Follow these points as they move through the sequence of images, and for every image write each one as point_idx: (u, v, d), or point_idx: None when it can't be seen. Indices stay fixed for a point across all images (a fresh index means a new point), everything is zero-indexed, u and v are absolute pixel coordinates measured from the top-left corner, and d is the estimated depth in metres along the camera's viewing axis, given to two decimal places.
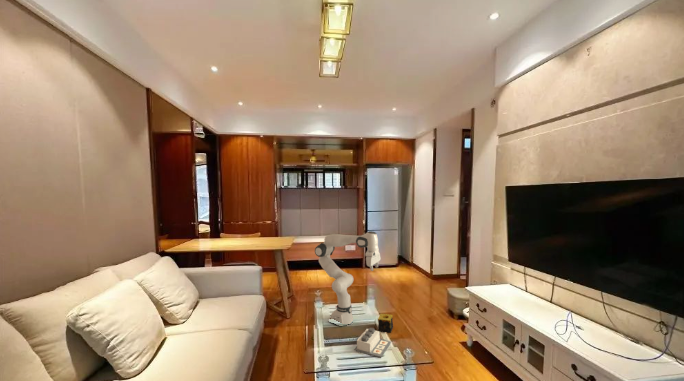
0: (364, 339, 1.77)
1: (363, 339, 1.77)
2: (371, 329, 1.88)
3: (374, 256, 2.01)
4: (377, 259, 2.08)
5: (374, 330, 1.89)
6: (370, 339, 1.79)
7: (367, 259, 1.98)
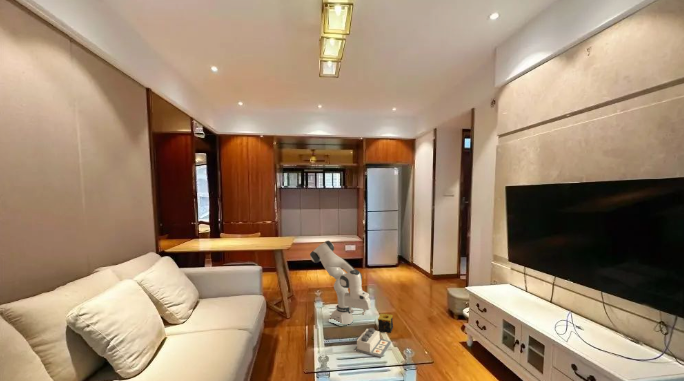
0: (364, 339, 1.77)
1: (363, 339, 1.77)
2: (371, 329, 1.88)
3: None
4: None
5: (374, 330, 1.89)
6: (370, 339, 1.79)
7: (368, 302, 1.76)
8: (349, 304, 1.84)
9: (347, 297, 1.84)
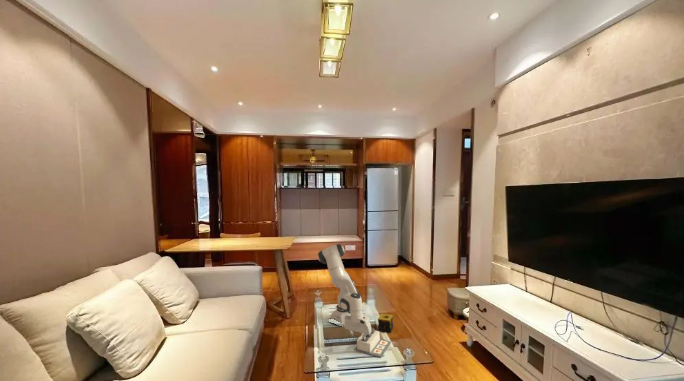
0: (364, 341, 1.77)
1: None
2: (371, 329, 1.88)
3: None
4: None
5: (374, 330, 1.89)
6: (370, 339, 1.79)
7: (368, 326, 1.75)
8: (349, 327, 1.82)
9: (347, 320, 1.83)
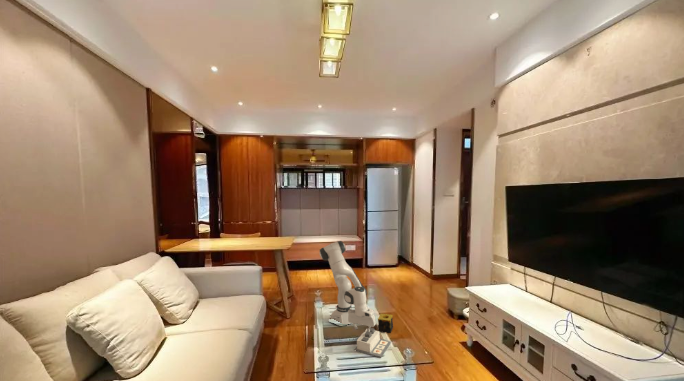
0: (364, 341, 1.77)
1: None
2: (371, 329, 1.88)
3: None
4: None
5: (374, 330, 1.89)
6: (370, 339, 1.79)
7: (373, 318, 1.77)
8: (353, 321, 1.83)
9: (351, 314, 1.84)
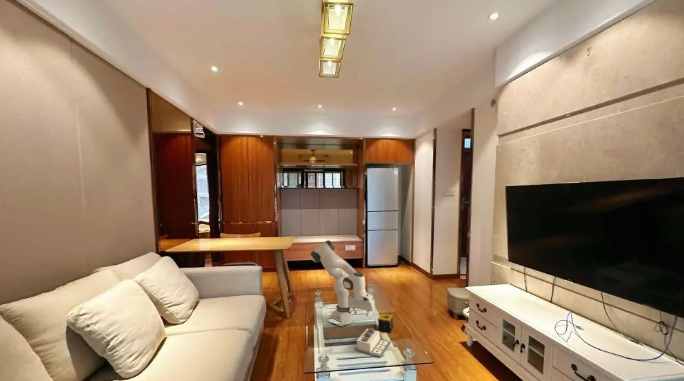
0: (364, 341, 1.77)
1: None
2: (371, 329, 1.88)
3: None
4: None
5: (374, 330, 1.89)
6: (370, 339, 1.79)
7: (371, 303, 1.81)
8: (353, 305, 1.88)
9: (351, 299, 1.88)
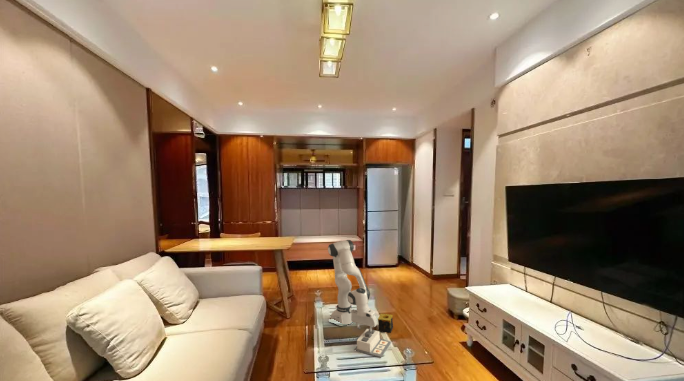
0: (364, 341, 1.77)
1: None
2: None
3: None
4: None
5: (374, 331, 1.89)
6: (370, 339, 1.79)
7: (374, 319, 1.84)
8: (356, 321, 1.92)
9: (354, 314, 1.92)
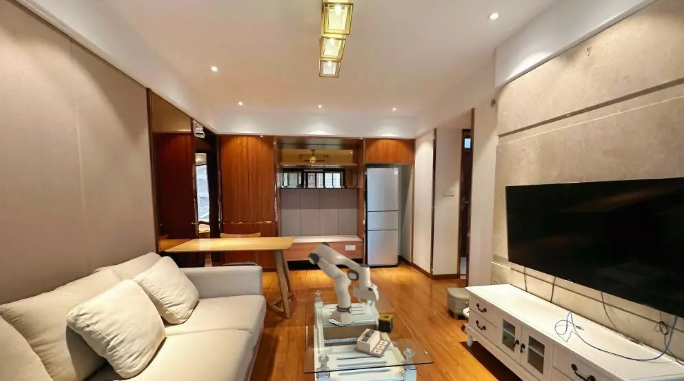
0: (364, 341, 1.77)
1: None
2: (371, 331, 1.88)
3: None
4: None
5: None
6: (370, 339, 1.79)
7: (376, 293, 1.87)
8: (358, 295, 1.94)
9: (356, 289, 1.95)
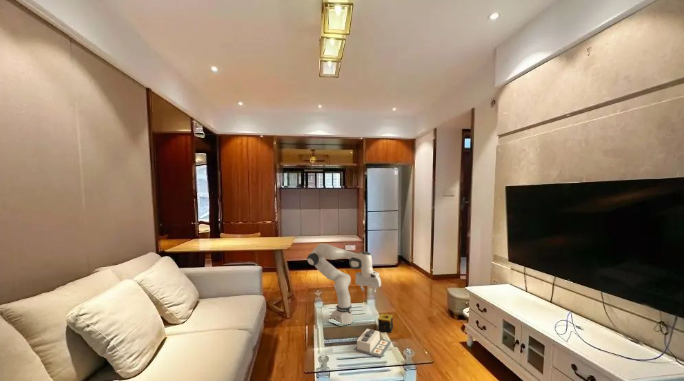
0: (364, 341, 1.77)
1: None
2: (371, 331, 1.88)
3: None
4: None
5: None
6: (370, 339, 1.79)
7: (378, 280, 1.90)
8: (360, 283, 1.97)
9: (358, 276, 1.98)
